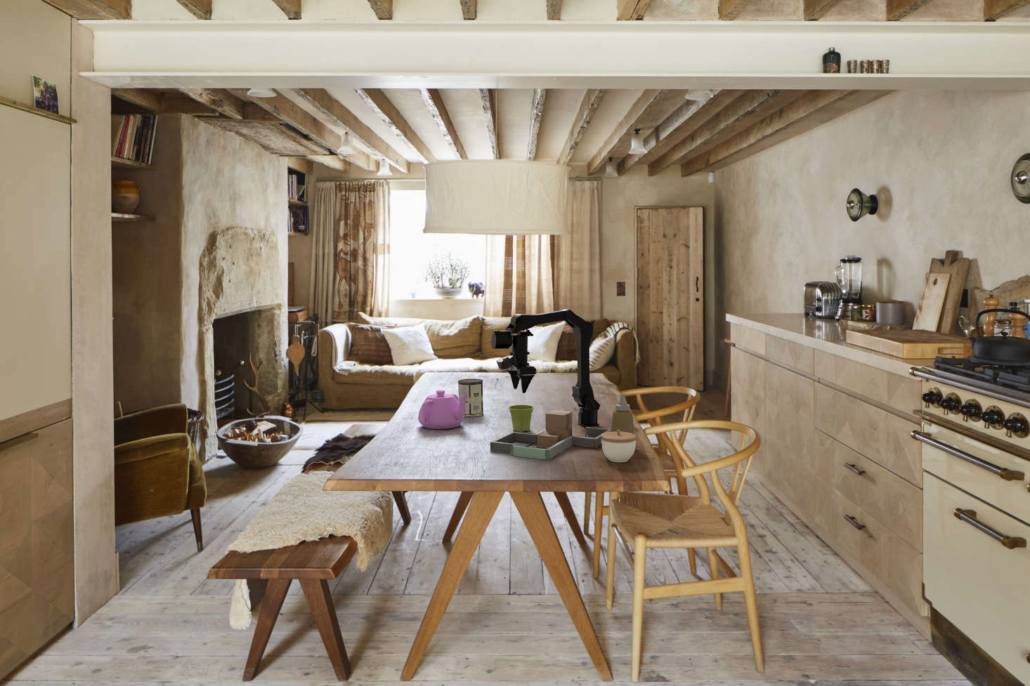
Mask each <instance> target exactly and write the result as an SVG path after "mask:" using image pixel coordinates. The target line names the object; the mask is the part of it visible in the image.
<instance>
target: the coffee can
mask: <svg viewBox="0 0 1030 686" xmlns="http://www.w3.org/2000/svg"><path fill="white" fill-rule="evenodd" d="M483 382H484V380H483V379H481V378H463V379H459V380H457V383H458V386H457V387H458V388H457V389H458V390H457V391H458V399H459V401H458V402H460V398H461V397H462V396H465V395H468V396H467V397H466V399H465V407H466V412H465V415H464V417H467V416H473V417H480V416H483V415H484V414H483V413H484V383H483ZM482 414H483V415H482ZM479 415H480V416H479Z"/></svg>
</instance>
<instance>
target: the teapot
mask: <svg viewBox="0 0 1030 686" xmlns="http://www.w3.org/2000/svg"><path fill="white" fill-rule="evenodd" d="M467 396H468V395H465V396H462V397H461V398H460V402H459V395H457V394H454V393H450V394H449V393H446V390H445V389H439V390H436V391H435V393H434V394H429V395H427V396H426V397H425V399H424V401H423V402H422V404H421V406H420V408H419V411H418V418H417V420H418V422H419V423H420V425H421V426H422V427H423V428H426V429H432V430H440V429H444V430H447V429H453V428H456V427H457V428H458V427H459V426H460V425H461V424H462V423H463V421H464V419H465V416H464V415H465V412H466V407H465V399H466V397H467Z"/></svg>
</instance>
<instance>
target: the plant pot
mask: <svg viewBox="0 0 1030 686" xmlns="http://www.w3.org/2000/svg"><path fill="white" fill-rule="evenodd" d="M534 409H535V406H533V405H529V404H514V405H510V406H508V410H509V413H510V417H511V424H512V430H513V431H514V432H517V431H519V433H523V432H522V431H524V432H525V431H526V432H529V431H530V429H531V421H532V414H533V412H534Z"/></svg>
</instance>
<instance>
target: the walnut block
mask: <svg viewBox="0 0 1030 686" xmlns="http://www.w3.org/2000/svg"><path fill="white" fill-rule="evenodd" d="M545 429H546V431H544V432H542V433H540V434H538V435H537V444H536V447H537V446H539V447H538V448H543V447H547V448H546V449H548V448H550V447H551V446H553V445H555V444H557V443H559V442H560V441H562V440H564V439H566V438H568V437H569V436H573V411H571V410H570V411H569V410H562V409H561V410H560V409H559V410H558V409H553V410H550V411H548V412H546V413H545Z"/></svg>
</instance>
